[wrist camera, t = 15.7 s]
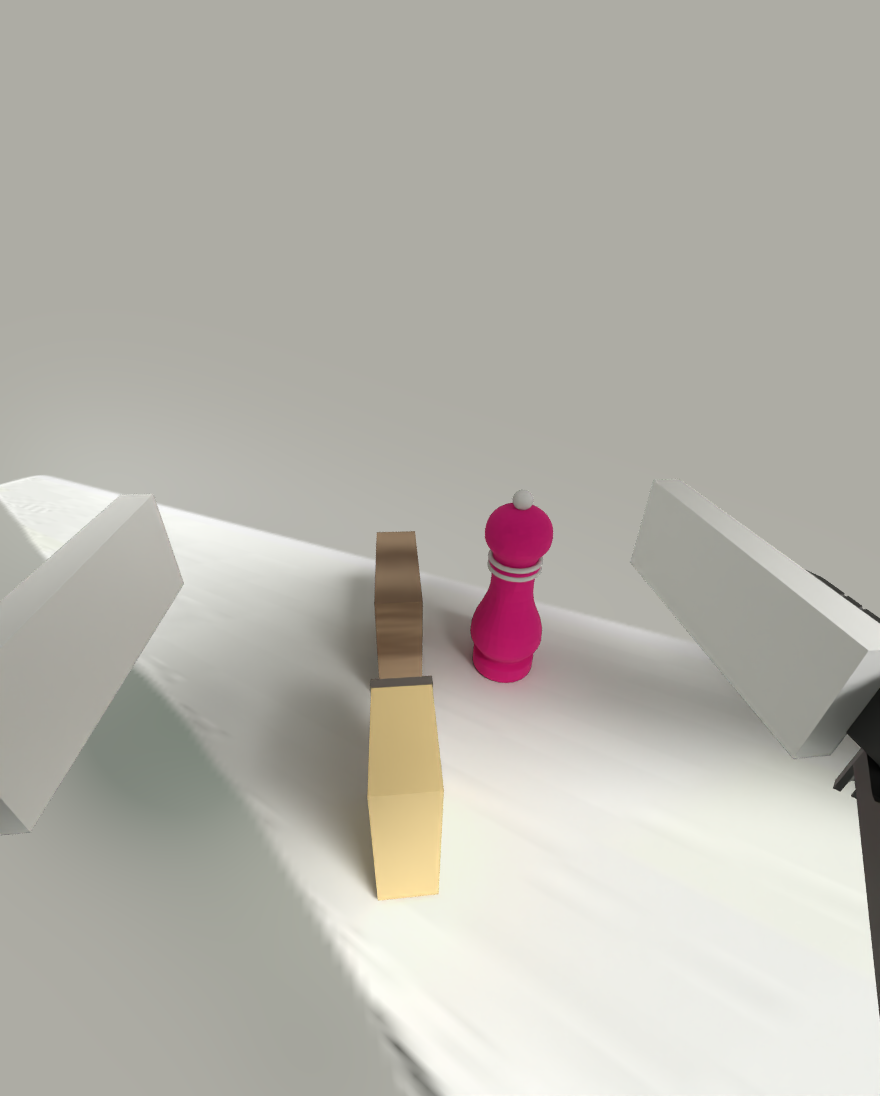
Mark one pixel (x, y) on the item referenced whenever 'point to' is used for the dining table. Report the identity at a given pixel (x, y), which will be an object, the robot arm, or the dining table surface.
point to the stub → (404, 787)
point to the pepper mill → (511, 590)
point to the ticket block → (398, 606)
